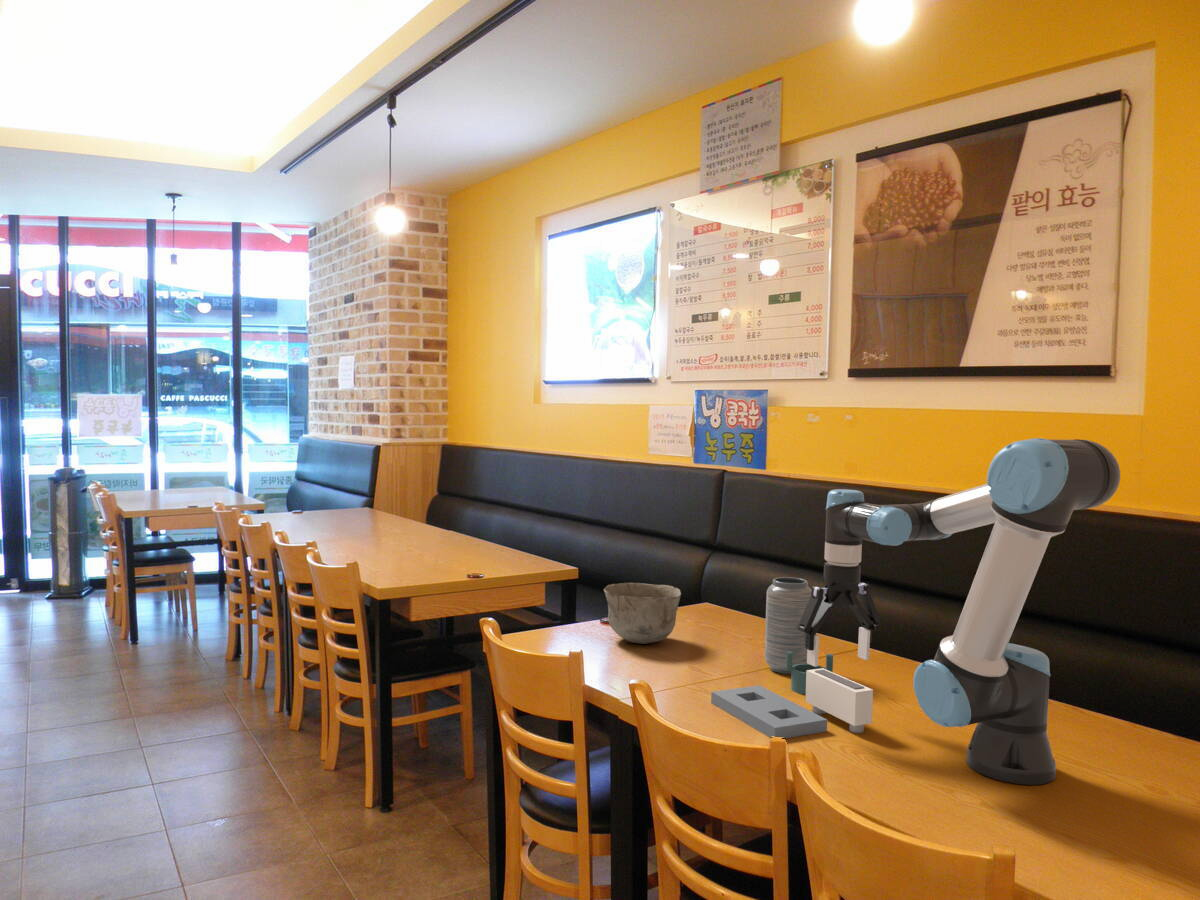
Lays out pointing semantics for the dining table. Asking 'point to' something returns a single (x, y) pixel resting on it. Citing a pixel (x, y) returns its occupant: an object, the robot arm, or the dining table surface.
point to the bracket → (803, 672)
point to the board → (769, 712)
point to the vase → (785, 622)
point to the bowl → (642, 610)
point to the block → (839, 698)
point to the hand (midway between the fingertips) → (838, 661)
